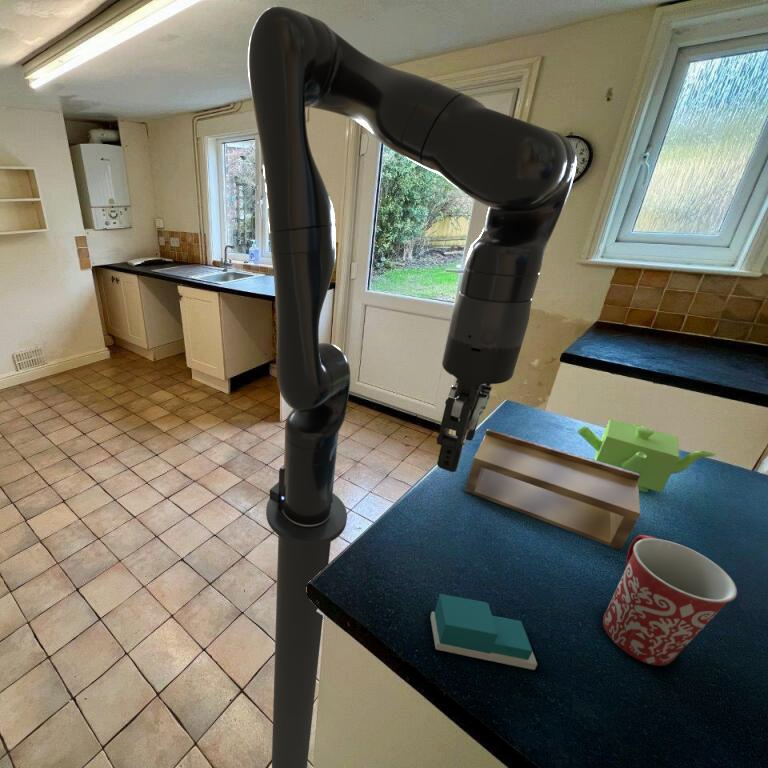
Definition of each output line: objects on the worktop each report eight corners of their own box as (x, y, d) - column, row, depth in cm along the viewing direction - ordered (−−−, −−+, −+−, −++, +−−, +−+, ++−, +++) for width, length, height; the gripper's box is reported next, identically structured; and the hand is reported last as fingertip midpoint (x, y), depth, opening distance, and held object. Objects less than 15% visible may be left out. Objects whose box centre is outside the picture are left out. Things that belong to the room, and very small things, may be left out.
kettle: (693, 497, 79) (721, 449, 74) (626, 504, 78) (650, 455, 73) (622, 452, 93) (642, 408, 88) (564, 456, 91) (581, 412, 86)
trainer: (435, 649, 54) (443, 624, 51) (430, 616, 58) (437, 592, 55) (534, 670, 51) (547, 645, 49) (521, 634, 55) (532, 610, 53)
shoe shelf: (464, 491, 81) (475, 453, 77) (477, 464, 89) (487, 428, 85) (621, 550, 68) (643, 508, 64) (620, 512, 76) (639, 473, 72)
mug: (698, 687, 49) (757, 613, 44) (606, 657, 53) (649, 584, 47) (655, 599, 60) (698, 530, 54) (580, 578, 63) (613, 511, 57)
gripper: (465, 314, 54) (441, 421, 61) (431, 344, 44) (408, 468, 51) (531, 324, 50) (498, 438, 57) (511, 361, 40) (474, 493, 47)
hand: (455, 452), depth 54 cm, fingers open, 8 cm apart
